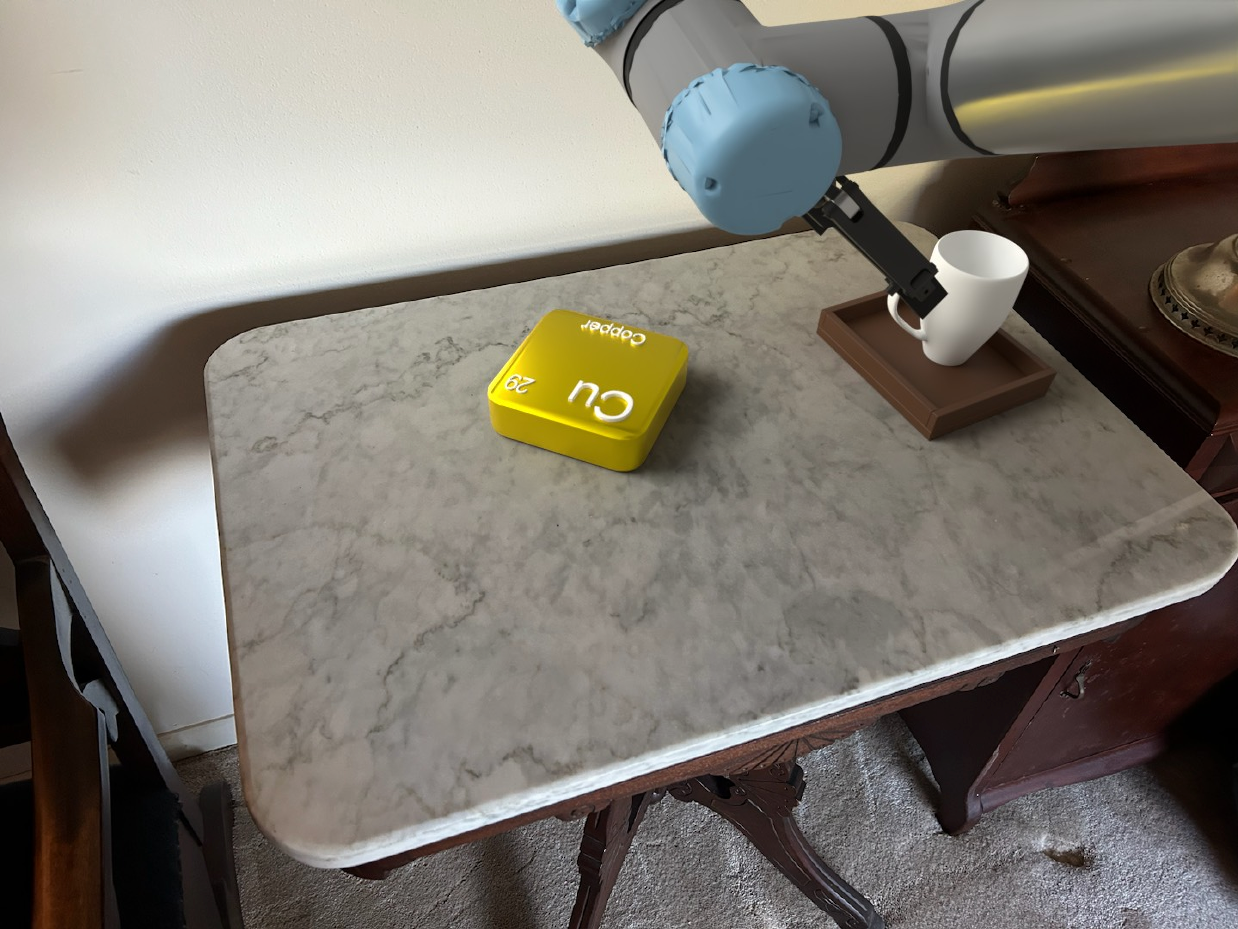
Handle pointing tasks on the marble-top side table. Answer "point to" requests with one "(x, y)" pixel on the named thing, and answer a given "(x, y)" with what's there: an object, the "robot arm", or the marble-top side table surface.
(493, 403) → the element tile
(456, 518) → the marble-top side table surface
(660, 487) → the marble-top side table surface
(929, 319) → the mug
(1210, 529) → the marble-top side table surface
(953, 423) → the tray
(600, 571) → the marble-top side table surface
